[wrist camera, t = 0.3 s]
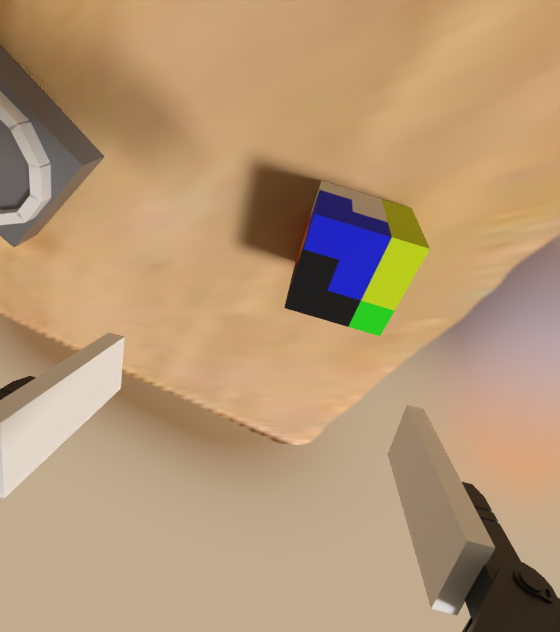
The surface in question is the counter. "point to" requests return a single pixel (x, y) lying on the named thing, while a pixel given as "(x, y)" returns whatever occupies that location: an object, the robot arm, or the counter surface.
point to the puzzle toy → (355, 259)
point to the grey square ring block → (35, 155)
